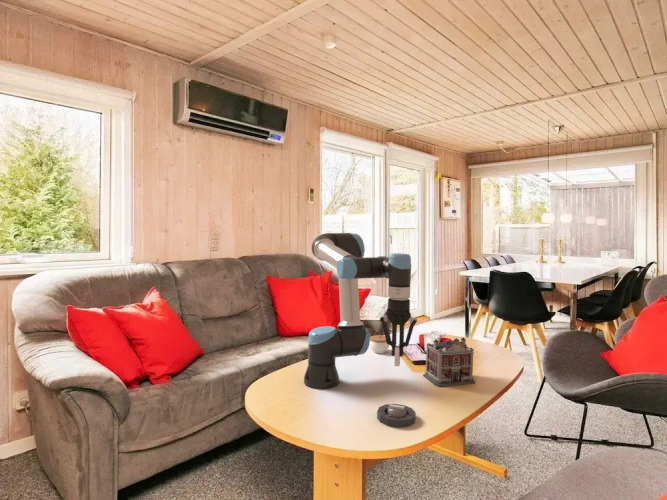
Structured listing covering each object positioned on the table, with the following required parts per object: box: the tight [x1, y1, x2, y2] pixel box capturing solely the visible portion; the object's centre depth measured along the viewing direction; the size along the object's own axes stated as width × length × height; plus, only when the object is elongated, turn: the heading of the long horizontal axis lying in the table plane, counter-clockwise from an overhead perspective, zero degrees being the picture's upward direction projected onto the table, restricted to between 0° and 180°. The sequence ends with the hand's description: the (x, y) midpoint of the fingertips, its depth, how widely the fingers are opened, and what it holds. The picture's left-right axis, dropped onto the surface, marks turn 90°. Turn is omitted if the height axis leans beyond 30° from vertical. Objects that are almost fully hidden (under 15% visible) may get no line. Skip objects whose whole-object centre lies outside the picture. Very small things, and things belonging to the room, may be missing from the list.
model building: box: [422, 337, 477, 388], centre depth 190 cm, size 19×14×20 cm
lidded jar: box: [369, 334, 390, 355], centre depth 230 cm, size 11×11×9 cm
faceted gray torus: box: [376, 403, 417, 429], centre depth 151 cm, size 13×13×2 cm
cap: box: [387, 403, 406, 417], centre depth 151 cm, size 6×6×5 cm
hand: (397, 364), depth 150 cm, fingers closed
